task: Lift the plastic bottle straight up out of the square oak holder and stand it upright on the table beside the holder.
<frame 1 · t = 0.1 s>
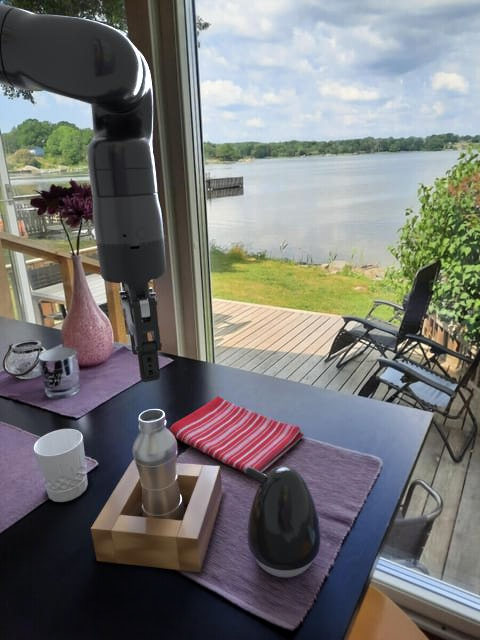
hand: (145, 365, 55), 30 cm above the table, tool pointing down, fingers open, 8 cm apart
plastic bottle: (164, 526, 70), resting in holder
white cup: (68, 490, 79), on the table
pump dispenser: (283, 559, 63), on the table
dish towel: (234, 437, 92), on the table
holder: (164, 525, 70), on the table
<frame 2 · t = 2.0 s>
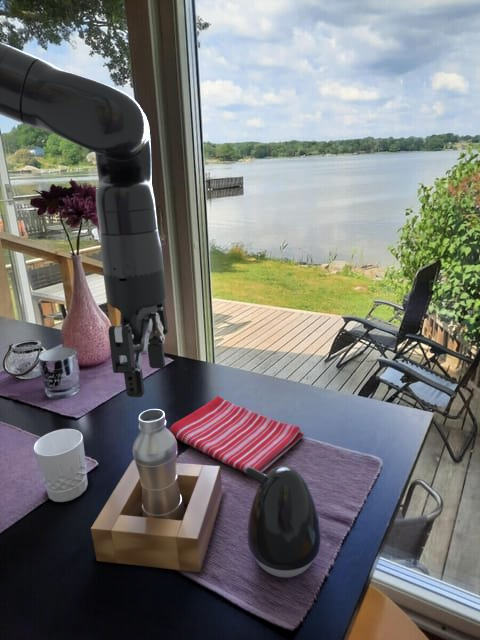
hand: (147, 380, 62), 26 cm above the table, tool pointing down, fingers open, 8 cm apart
nothing on the table moved.
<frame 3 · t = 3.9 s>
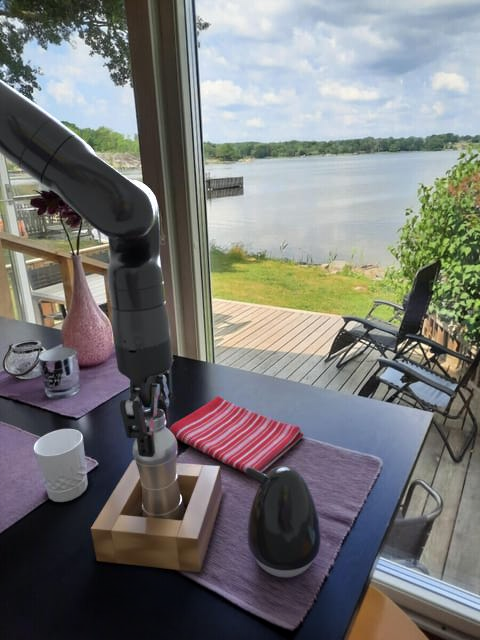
hand: (154, 441, 65), 16 cm above the table, tool pointing down, fingers closed on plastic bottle, 6 cm apart
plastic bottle: (164, 526, 70), resting in holder, touching gripper
everything else where it was.
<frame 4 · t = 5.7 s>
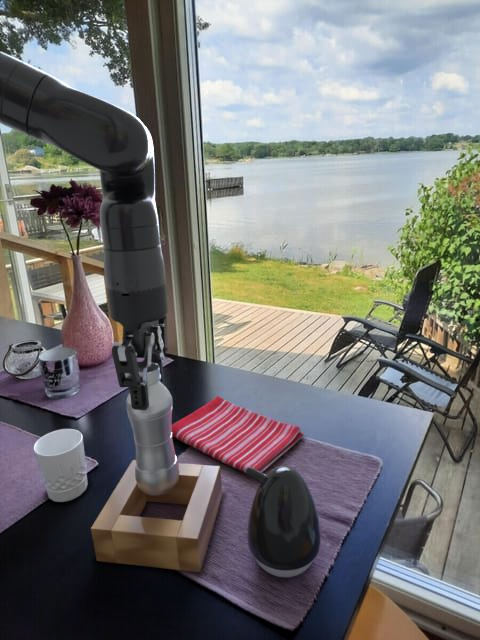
hand: (149, 396, 62), 23 cm above the table, tool pointing down, fingers closed on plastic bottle, 6 cm apart
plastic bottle: (159, 487, 67), point 7 cm above the table, touching gripper
everything else where it was.
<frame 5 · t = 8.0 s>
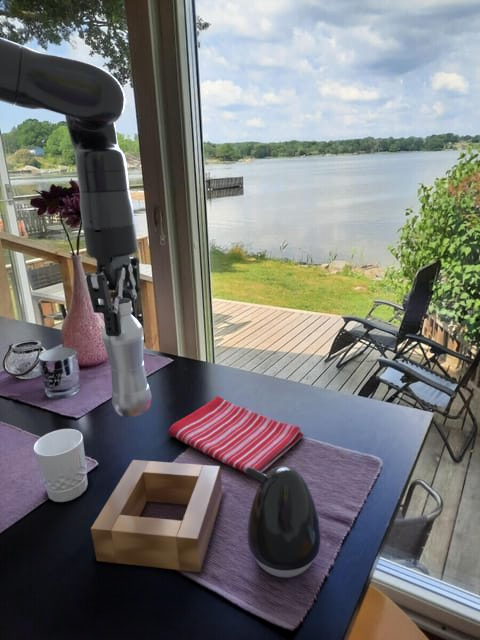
hand: (122, 327, 71), 29 cm above the table, tool pointing down, fingers closed on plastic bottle, 6 cm apart
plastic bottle: (133, 413, 76), point 14 cm above the table, touching gripper
everything else where it was.
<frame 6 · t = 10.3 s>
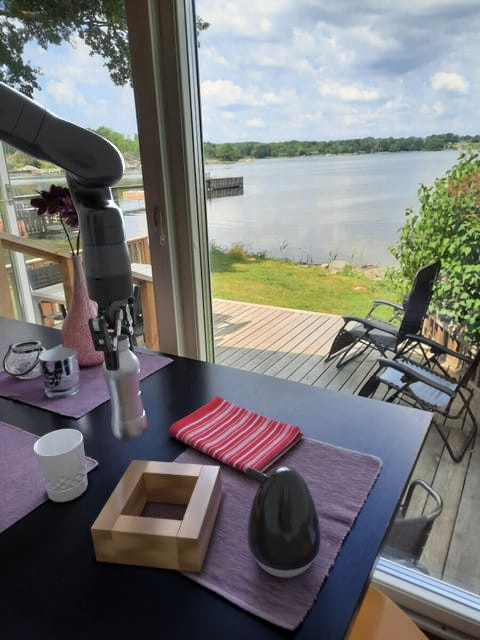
hand: (120, 361, 79), 21 cm above the table, tool pointing down, fingers closed on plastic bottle, 6 cm apart
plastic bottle: (131, 437, 84), point 5 cm above the table, touching gripper
everything else where it was.
when the fingers open (16 cm above the table, at t = 12.2 s): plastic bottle stays where it is, on the table.
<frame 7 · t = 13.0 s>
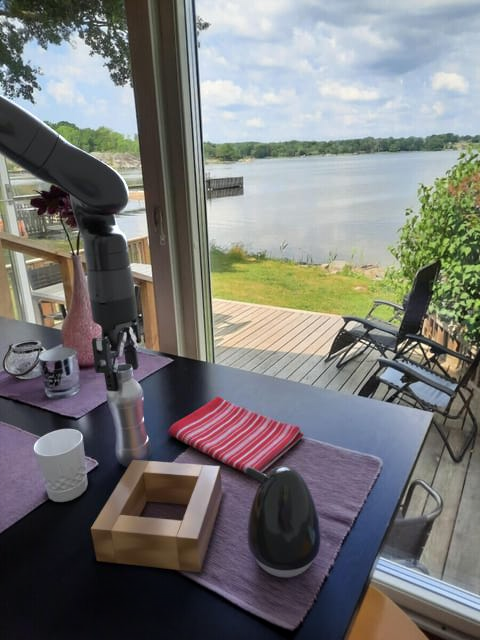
hand: (123, 379, 80), 18 cm above the table, tool pointing down, fingers open, 8 cm apart
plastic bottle: (134, 462, 86), on the table
everything else where it was.
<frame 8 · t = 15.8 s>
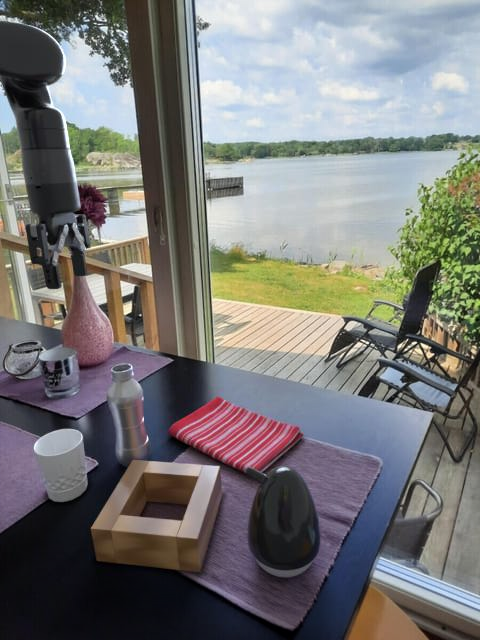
hand: (68, 281, 74), 36 cm above the table, tool pointing down, fingers open, 8 cm apart
nothing on the table moved.
at the end: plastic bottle inside the target area (0.1 cm from its centre), on the table; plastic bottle tilted 0°; the gripper is holding nothing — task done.
